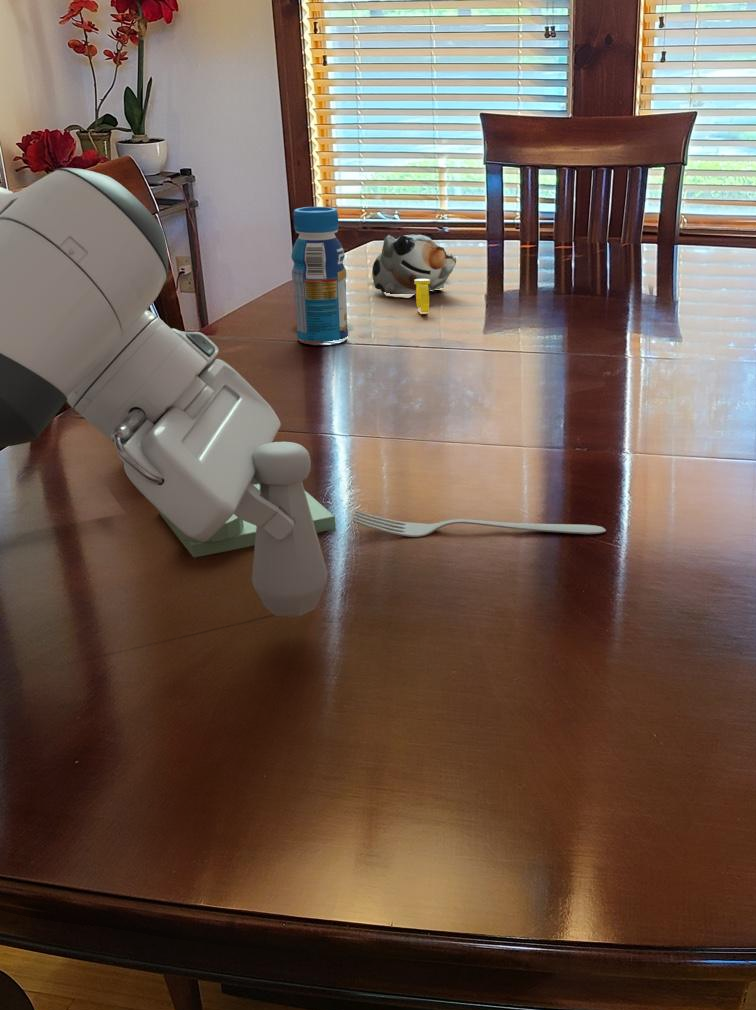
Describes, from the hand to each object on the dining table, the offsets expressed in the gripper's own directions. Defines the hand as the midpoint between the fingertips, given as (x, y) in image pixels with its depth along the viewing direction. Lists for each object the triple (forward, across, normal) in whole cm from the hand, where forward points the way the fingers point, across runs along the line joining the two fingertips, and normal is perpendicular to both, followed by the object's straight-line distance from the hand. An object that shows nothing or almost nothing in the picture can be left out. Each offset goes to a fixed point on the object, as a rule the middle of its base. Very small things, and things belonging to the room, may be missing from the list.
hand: (294, 519), depth 81 cm
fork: (+17, +20, -3) cm, 27 cm away
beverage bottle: (0, +97, +16) cm, 98 cm away
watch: (+10, +117, +5) cm, 118 cm away
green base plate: (+1, +22, +13) cm, 26 cm away
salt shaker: (+5, 0, +6) cm, 7 cm away
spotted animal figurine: (+9, +135, +7) cm, 135 cm away
